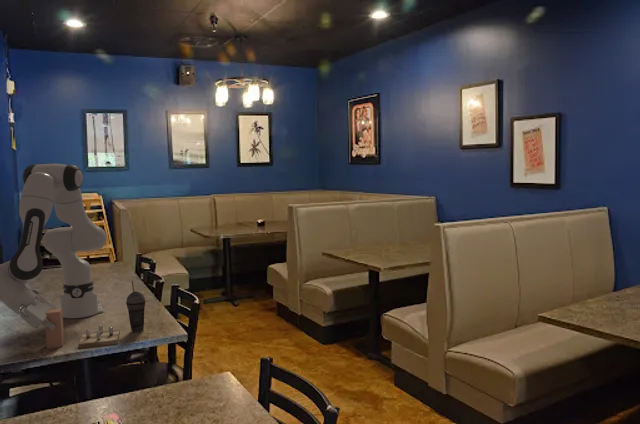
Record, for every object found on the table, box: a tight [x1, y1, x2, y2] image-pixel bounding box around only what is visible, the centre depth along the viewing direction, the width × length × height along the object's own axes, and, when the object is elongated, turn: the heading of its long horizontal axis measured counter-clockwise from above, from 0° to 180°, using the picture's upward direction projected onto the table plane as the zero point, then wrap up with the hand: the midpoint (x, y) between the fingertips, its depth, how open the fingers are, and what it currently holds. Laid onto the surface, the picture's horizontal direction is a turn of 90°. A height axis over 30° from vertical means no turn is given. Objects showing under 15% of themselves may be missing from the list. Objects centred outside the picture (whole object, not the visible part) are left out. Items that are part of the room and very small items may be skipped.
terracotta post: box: [44, 307, 66, 350], centre depth 191 cm, size 5×5×13 cm
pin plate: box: [78, 324, 121, 349], centre depth 196 cm, size 13×13×4 cm
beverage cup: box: [125, 280, 146, 334], centre depth 206 cm, size 7×7×20 cm
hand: (56, 325), depth 191 cm, fingers closed on terracotta post, 5 cm apart
